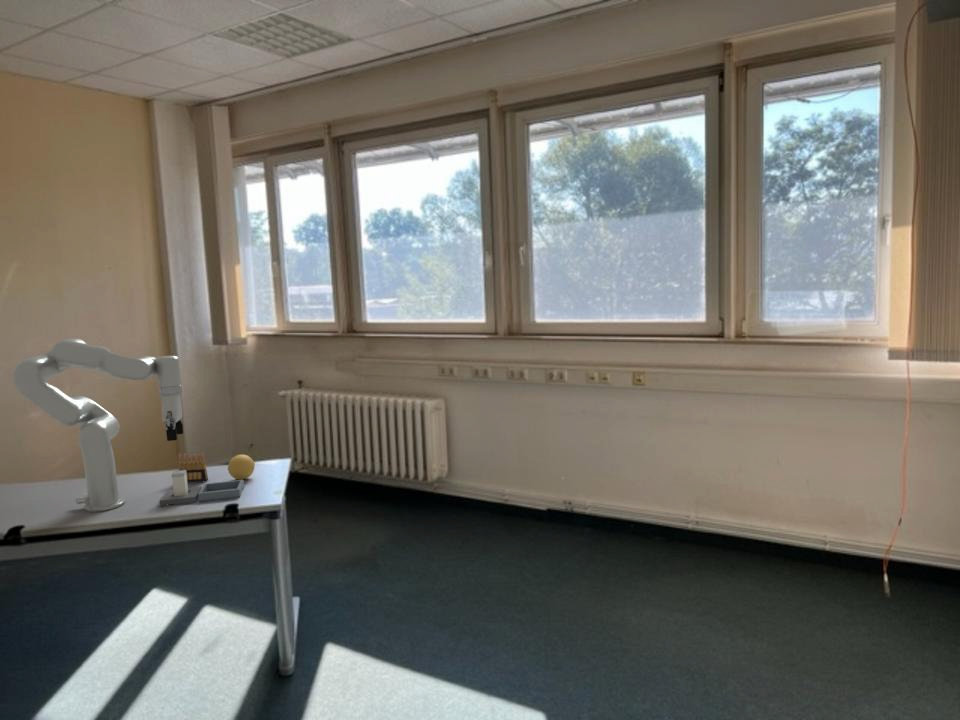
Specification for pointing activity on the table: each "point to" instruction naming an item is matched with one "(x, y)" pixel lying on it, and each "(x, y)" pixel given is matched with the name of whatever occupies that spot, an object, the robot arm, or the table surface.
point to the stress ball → (241, 467)
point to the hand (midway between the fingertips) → (175, 437)
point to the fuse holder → (180, 497)
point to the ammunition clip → (193, 467)
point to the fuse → (180, 483)
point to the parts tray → (221, 490)
